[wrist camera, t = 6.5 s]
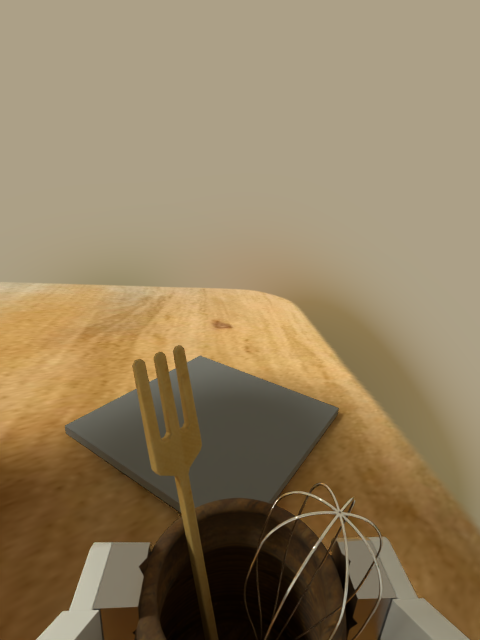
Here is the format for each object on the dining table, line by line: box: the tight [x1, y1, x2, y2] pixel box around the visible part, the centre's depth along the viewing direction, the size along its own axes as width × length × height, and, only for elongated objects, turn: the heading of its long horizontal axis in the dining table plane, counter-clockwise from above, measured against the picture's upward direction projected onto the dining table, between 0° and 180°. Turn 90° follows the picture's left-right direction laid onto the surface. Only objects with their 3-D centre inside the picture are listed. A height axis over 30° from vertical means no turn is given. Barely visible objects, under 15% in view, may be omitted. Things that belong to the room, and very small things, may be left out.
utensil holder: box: [132, 345, 383, 640], centre depth 9 cm, size 6×6×12 cm
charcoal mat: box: [65, 356, 339, 513], centre depth 26 cm, size 14×14×1 cm
